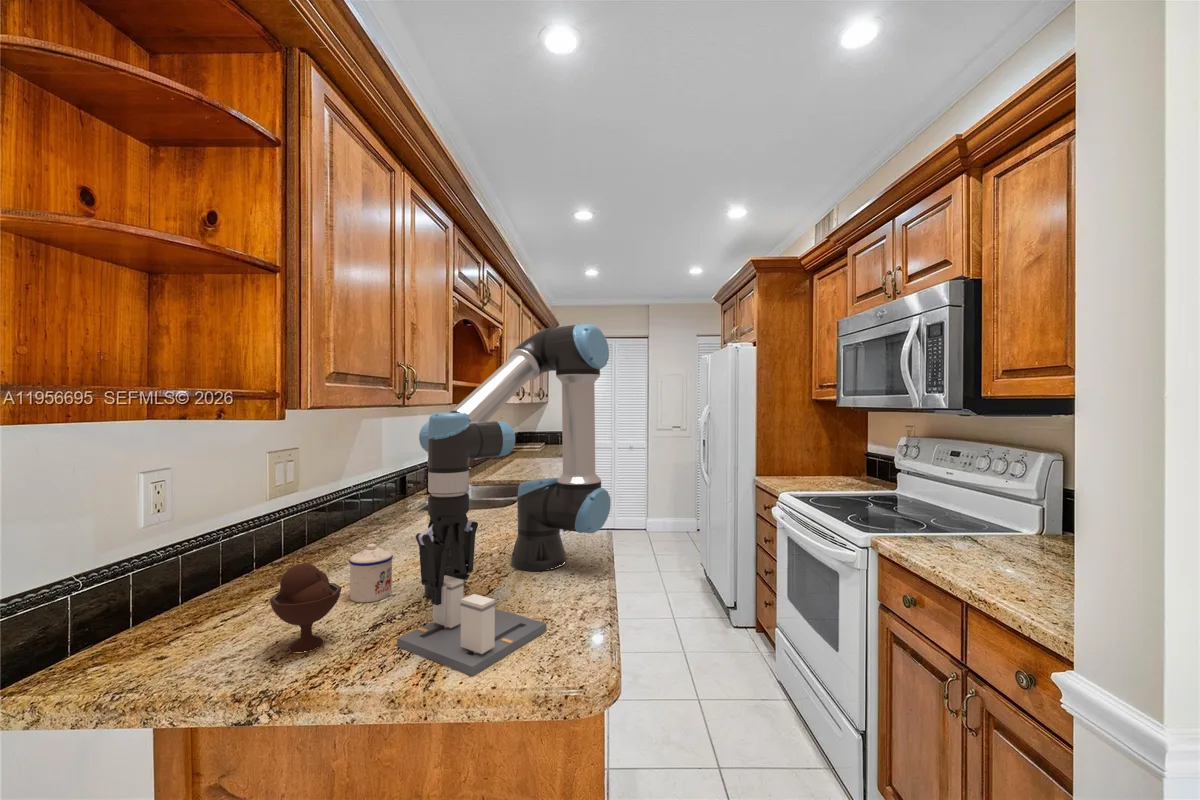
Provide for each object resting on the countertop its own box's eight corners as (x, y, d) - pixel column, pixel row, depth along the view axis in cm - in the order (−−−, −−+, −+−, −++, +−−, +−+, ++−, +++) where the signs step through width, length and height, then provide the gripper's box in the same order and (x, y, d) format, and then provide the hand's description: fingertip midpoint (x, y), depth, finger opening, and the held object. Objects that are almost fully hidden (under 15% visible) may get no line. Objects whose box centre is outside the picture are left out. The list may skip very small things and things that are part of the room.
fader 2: (473, 645, 87) (473, 593, 87) (495, 652, 85) (495, 599, 85) (460, 652, 85) (460, 599, 85) (481, 660, 82) (481, 605, 82)
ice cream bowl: (342, 651, 87) (343, 565, 88) (266, 667, 82) (267, 575, 82) (340, 627, 96) (340, 550, 97) (271, 641, 91) (272, 559, 91)
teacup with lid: (381, 603, 109) (382, 550, 109) (340, 603, 109) (341, 550, 109) (404, 584, 121) (404, 536, 121) (366, 584, 121) (367, 536, 121)
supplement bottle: (417, 597, 112) (418, 543, 113) (436, 586, 119) (437, 536, 119) (443, 600, 110) (443, 546, 110) (461, 590, 117) (461, 539, 117)
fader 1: (445, 621, 97) (445, 575, 97) (463, 627, 94) (463, 579, 95) (432, 627, 94) (432, 579, 95) (451, 633, 92) (451, 584, 92)
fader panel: (475, 610, 105) (475, 602, 105) (546, 631, 95) (546, 622, 95) (396, 646, 89) (396, 637, 89) (472, 676, 79) (472, 666, 79)
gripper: (466, 486, 104) (466, 598, 103) (399, 497, 90) (398, 628, 90) (493, 489, 100) (492, 606, 99) (426, 501, 86) (426, 638, 86)
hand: (448, 616), depth 94 cm, fingers closed on fader 1, 3 cm apart
